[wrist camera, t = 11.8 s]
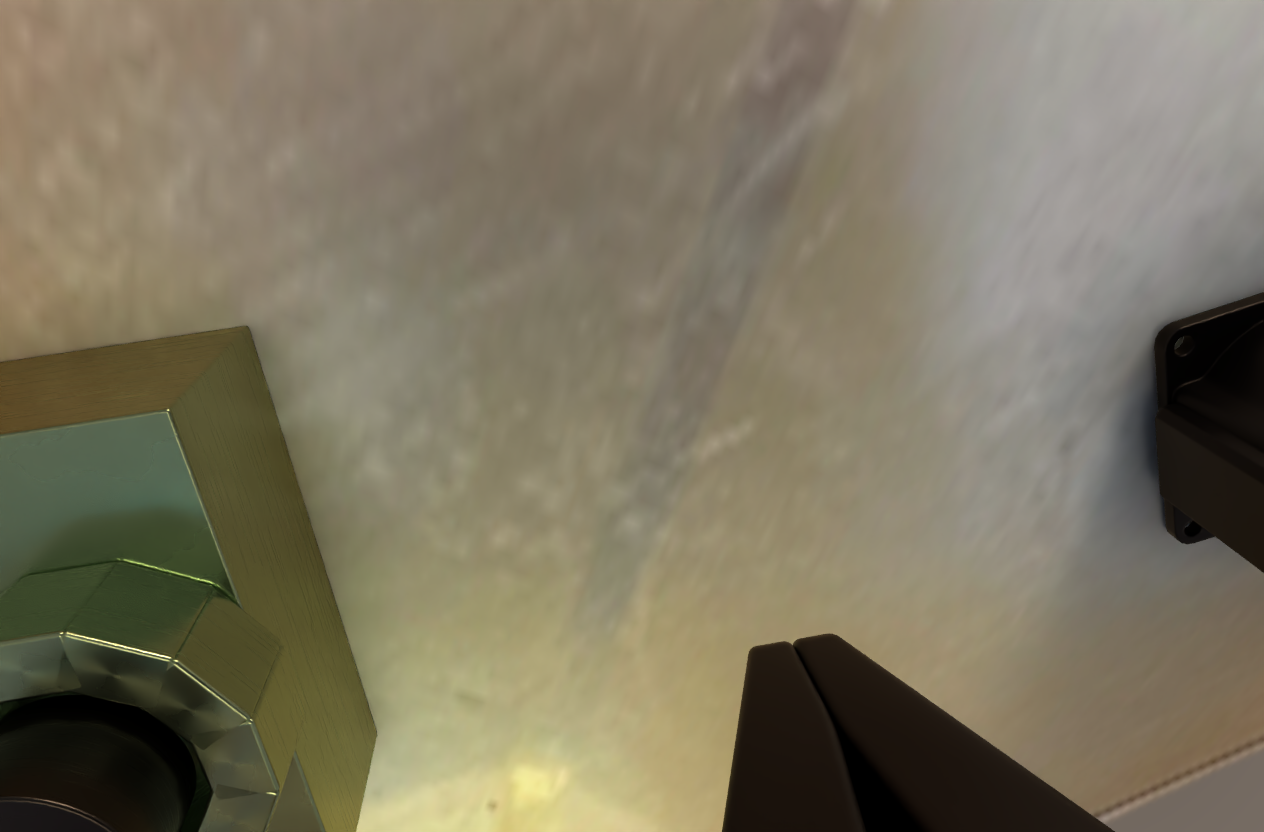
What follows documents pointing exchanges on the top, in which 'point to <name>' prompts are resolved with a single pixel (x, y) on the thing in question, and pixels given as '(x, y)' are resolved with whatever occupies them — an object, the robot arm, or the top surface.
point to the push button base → (179, 574)
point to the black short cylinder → (91, 768)
